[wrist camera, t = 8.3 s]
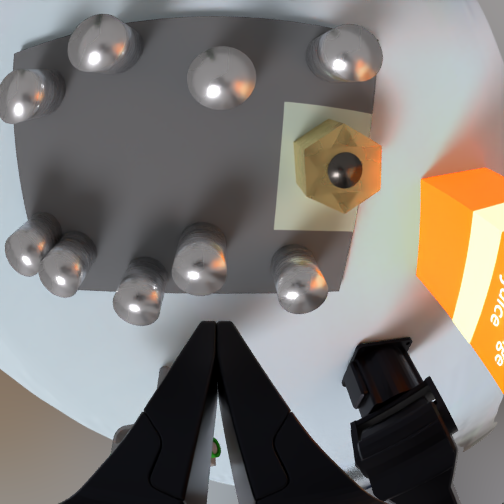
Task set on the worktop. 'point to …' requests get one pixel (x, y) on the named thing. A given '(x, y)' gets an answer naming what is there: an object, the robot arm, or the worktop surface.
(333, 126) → the nut
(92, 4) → the worktop surface
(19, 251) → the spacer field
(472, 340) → the orange juice
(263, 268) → the mat
